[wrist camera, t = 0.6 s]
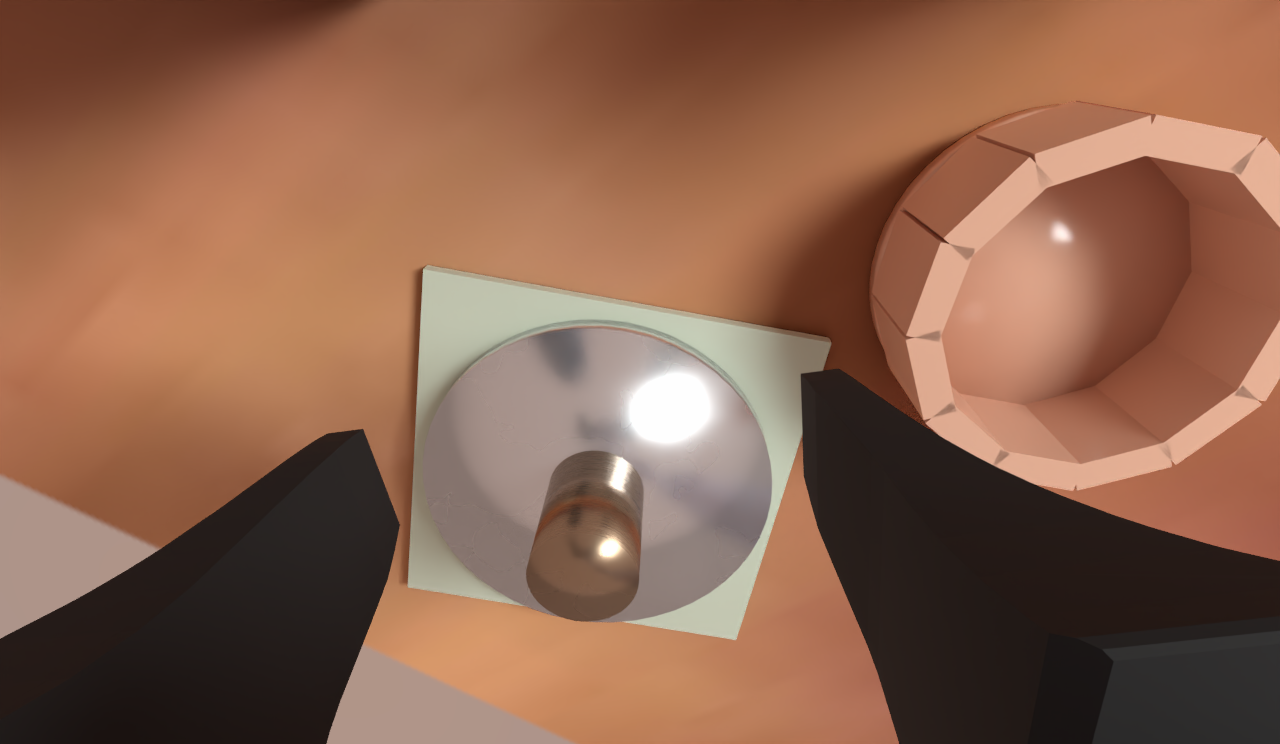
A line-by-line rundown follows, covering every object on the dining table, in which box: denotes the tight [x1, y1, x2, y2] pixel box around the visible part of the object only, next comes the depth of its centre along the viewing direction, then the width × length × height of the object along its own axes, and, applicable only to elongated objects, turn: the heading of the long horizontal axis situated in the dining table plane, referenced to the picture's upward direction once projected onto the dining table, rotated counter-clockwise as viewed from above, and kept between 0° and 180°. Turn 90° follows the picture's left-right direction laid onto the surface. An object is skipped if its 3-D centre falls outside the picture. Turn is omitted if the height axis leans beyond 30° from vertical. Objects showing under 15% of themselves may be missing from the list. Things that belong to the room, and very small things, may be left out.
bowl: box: [869, 101, 1280, 491], centre depth 18 cm, size 9×9×4 cm
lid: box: [423, 319, 772, 622], centre depth 21 cm, size 11×11×5 cm
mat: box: [408, 265, 831, 640], centre depth 24 cm, size 12×12×1 cm
